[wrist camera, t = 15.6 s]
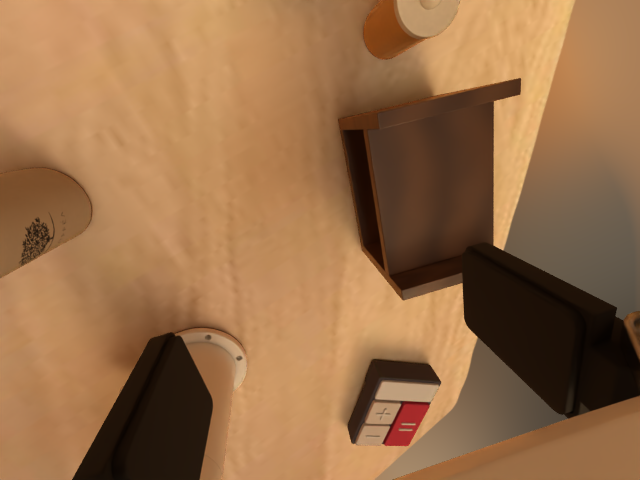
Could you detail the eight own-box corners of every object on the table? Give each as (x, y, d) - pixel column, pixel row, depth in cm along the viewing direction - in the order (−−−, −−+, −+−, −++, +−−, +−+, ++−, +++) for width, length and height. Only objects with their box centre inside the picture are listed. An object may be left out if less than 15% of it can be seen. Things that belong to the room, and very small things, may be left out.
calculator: (351, 448, 49) (381, 381, 44) (345, 423, 53) (372, 359, 47) (410, 449, 51) (445, 385, 46) (400, 425, 55) (431, 364, 50)
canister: (366, 66, 33) (407, 39, 23) (358, 6, 31) (399, -49, 21) (412, 55, 33) (471, 24, 24) (407, -4, 31) (469, -63, 22)
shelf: (362, 250, 41) (402, 300, 29) (337, 119, 34) (377, 112, 22) (443, 228, 42) (515, 267, 30) (434, 96, 35) (521, 77, 23)
